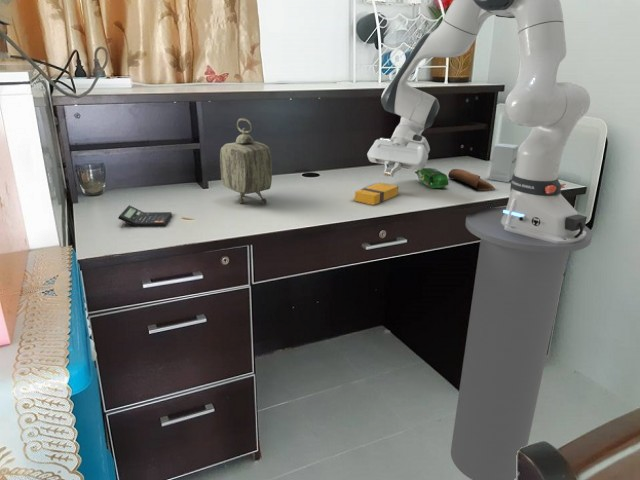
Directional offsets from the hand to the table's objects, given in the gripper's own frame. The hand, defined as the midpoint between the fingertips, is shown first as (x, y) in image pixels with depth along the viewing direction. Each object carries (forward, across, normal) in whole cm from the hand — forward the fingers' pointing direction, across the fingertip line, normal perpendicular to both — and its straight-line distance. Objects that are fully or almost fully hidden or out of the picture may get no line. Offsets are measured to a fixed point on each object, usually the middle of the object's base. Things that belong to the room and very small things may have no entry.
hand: (387, 175), depth 163 cm
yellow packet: (+3, 0, +4) cm, 5 cm away
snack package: (-10, +6, +20) cm, 23 cm away
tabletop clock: (+30, -29, -21) cm, 46 cm away
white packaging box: (-28, +23, +37) cm, 52 cm away
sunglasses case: (-17, +17, +27) cm, 36 cm away
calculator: (+51, -37, -42) cm, 76 cm away
